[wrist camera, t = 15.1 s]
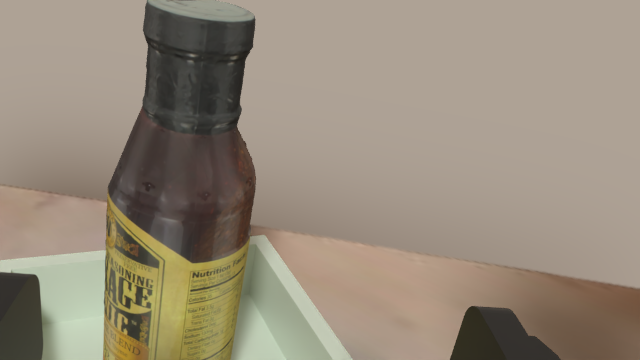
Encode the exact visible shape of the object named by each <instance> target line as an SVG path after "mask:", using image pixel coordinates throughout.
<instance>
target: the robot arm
mask: <svg viewBox="0 0 640 360" xmlns="http://www.w3.org/2000/svg"><path fill="white" fill-rule="evenodd" d="M42 354H43V330H42V314H41V297H40V283H39V279H38V277H37V275H35V274H22V273H8V272H0V360H42ZM450 360H560V358H559V357H558V355H556V354H555V353H554V352H553V351H552V350H551V349H549V348H548V347H547V346H546V345H545V344H544V343H542V342H541V341H540V340H539V339H538V338H537V337H535V336H528V334H527V333H526V331H525V329H524V328H523V326H522V325H521V323H520V322H519V320H518V319H517V317H516V316H515V314H514V313H513V311H511V310H510V309H507V308H493V307H478V306H471V307H470V308H468V310H467V311H466V313H465V316H464V318H463V322H462V325H461V328H460V331H459V334H458V337H457V340H456V343H455V346H454V349H453V352H452V355H451V358H450Z"/></svg>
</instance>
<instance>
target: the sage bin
mask: <svg viewBox="0 0 640 360" xmlns="http://www.w3.org/2000/svg"><path fill="white" fill-rule="evenodd" d="M105 257H106V250H103V251H93V252H82V253H72V254H62V255H51V256H41V257H31V258H20V259H10V260H0V272H8V273H22V274H35V275H37V277H38V279H39V283H40V297H41V314H42V330H43V354H42V360H103V342H104V291H105ZM231 360H353V359H352V358H351V356H350V355H349V353H348V352H347V351H346V349H345V348H344V346H343V345H342V344H341V342H340V341H339V339H338V338H337V336H336V335H335V334H334V332H333V331H332V329H331V328H330V327H329V325H328V324H327V322H326V321H325V320H324V318H323V317H322V315H321V314H320V312H319V311H318V310H317V308H316V307H315V305H314V304H313V303H312V301H311V300H310V298H309V297H308V295H307V294H306V293H305V291H304V290H303V288H302V287H301V286H300V284H299V283H298V281H297V280H296V279H295V277H294V276H293V274H292V273H291V271H290V270H289V269H288V267H287V266H286V264H285V263H284V262H283V260H282V259H281V257H280V256H279V255H278V253H277V252H276V250H275V249H274V247H273V246H272V245H271V243H270V242H269V240H268V239H267V238H266V236H265V235H258V236H250V242H249V248H248V255H247V261H246V267H245V273H244V279H243V285H242V291H241V297H240V304H239V310H238V316H237V323H236V329H235V335H234V342H233V348H232V354H231Z"/></svg>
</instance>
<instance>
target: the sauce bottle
mask: <svg viewBox="0 0 640 360" xmlns="http://www.w3.org/2000/svg"><path fill="white" fill-rule="evenodd" d="M143 31H144V35H145V38H146V41H147V43H148V55H147V65H146V67H147V74H146V87H145V95H144V98H143V106H142V109H141V111H140V113H139V115H138V118H137V120H136V122H135V125H134V127H133V129H132V131H131V134H130V136H129V139H128V141H127V143H126V146H125V148H124V151H123V153H122V155H121V158H120V160H119V162H118V165H117V167H116V169H115V172H114V174H113V177H112V179H111V181H110V183H109V186H108V197H107V232H106V257H105V291H104V342H103V360H231V354H232V348H233V342H234V335H235V329H236V323H237V316H238V310H239V304H240V297H241V291H242V285H243V279H244V273H245V267H246V261H247V255H248V248H249V242H250V236H251V226H250V219H251V212H252V206H253V200H254V194H255V184H256V176H255V169H254V165H253V163H252V158H251V156H250V154H249V152H248V150H247V148H246V143H245V141H243V139H242V137H241V134H240V132H239V131H238V128H237V123H238V120H239V116H240V114H241V110H242V109H241V106H240V95H241V90H242V84H243V76H244V68H245V60H246V57H247V56H248V54H249V53H250V50H251V49H252V47H253V38H254V31H255V16H254V15H253V13H251V12H250V11H248V10H246V9H244V8H241V7H239V6H236V5H233V4H229V3H226V2H220V1H216V0H147V3H146V7H145V19H144V26H143Z"/></svg>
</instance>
